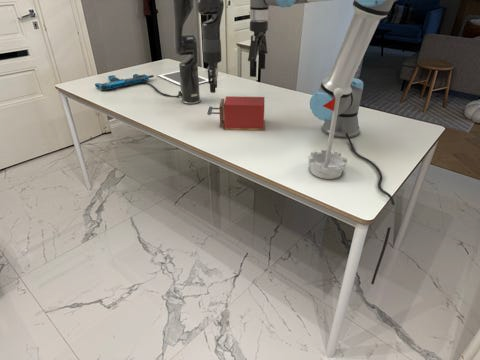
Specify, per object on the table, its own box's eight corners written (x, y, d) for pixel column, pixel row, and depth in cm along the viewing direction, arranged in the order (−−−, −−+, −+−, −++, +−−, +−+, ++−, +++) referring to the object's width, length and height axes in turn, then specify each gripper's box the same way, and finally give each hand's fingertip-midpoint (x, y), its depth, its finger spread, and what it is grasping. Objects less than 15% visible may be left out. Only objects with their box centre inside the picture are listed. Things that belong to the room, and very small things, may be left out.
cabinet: (224, 129, 151) (223, 104, 145) (226, 119, 160) (226, 96, 154) (263, 130, 151) (264, 105, 144) (263, 120, 160) (264, 96, 153)
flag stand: (330, 158, 128) (344, 79, 112) (352, 176, 118) (370, 92, 102) (300, 165, 124) (309, 84, 108) (320, 183, 114) (333, 97, 98)
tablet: (157, 75, 220) (157, 75, 220) (183, 70, 231) (183, 69, 231) (184, 87, 200) (184, 87, 200) (212, 80, 211) (212, 80, 211)
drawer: (207, 126, 152) (206, 106, 146) (210, 118, 160) (209, 98, 154) (256, 127, 151) (256, 106, 145) (256, 118, 159) (256, 99, 153)
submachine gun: (139, 68, 225) (158, 74, 208) (140, 74, 226) (158, 80, 210) (87, 78, 206) (103, 86, 189) (89, 84, 208) (104, 92, 191)
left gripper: (205, 45, 144) (207, 84, 154) (200, 53, 132) (202, 95, 141) (222, 45, 144) (223, 85, 153) (219, 53, 132) (220, 95, 141)
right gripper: (258, 16, 151) (257, 64, 162) (240, 24, 131) (240, 79, 143) (275, 16, 149) (272, 66, 160) (258, 25, 129) (257, 81, 141)
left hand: (213, 89), depth 147 cm, fingers open, 5 cm apart
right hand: (257, 72), depth 152 cm, fingers open, 13 cm apart
